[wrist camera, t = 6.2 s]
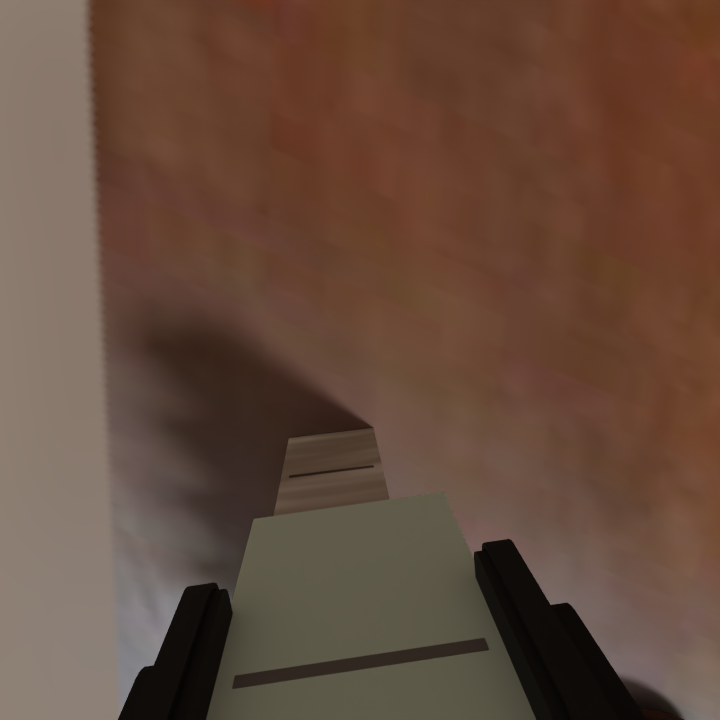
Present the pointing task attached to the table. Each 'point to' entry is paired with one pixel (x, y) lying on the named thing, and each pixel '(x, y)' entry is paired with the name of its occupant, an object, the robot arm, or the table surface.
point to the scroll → (658, 715)
